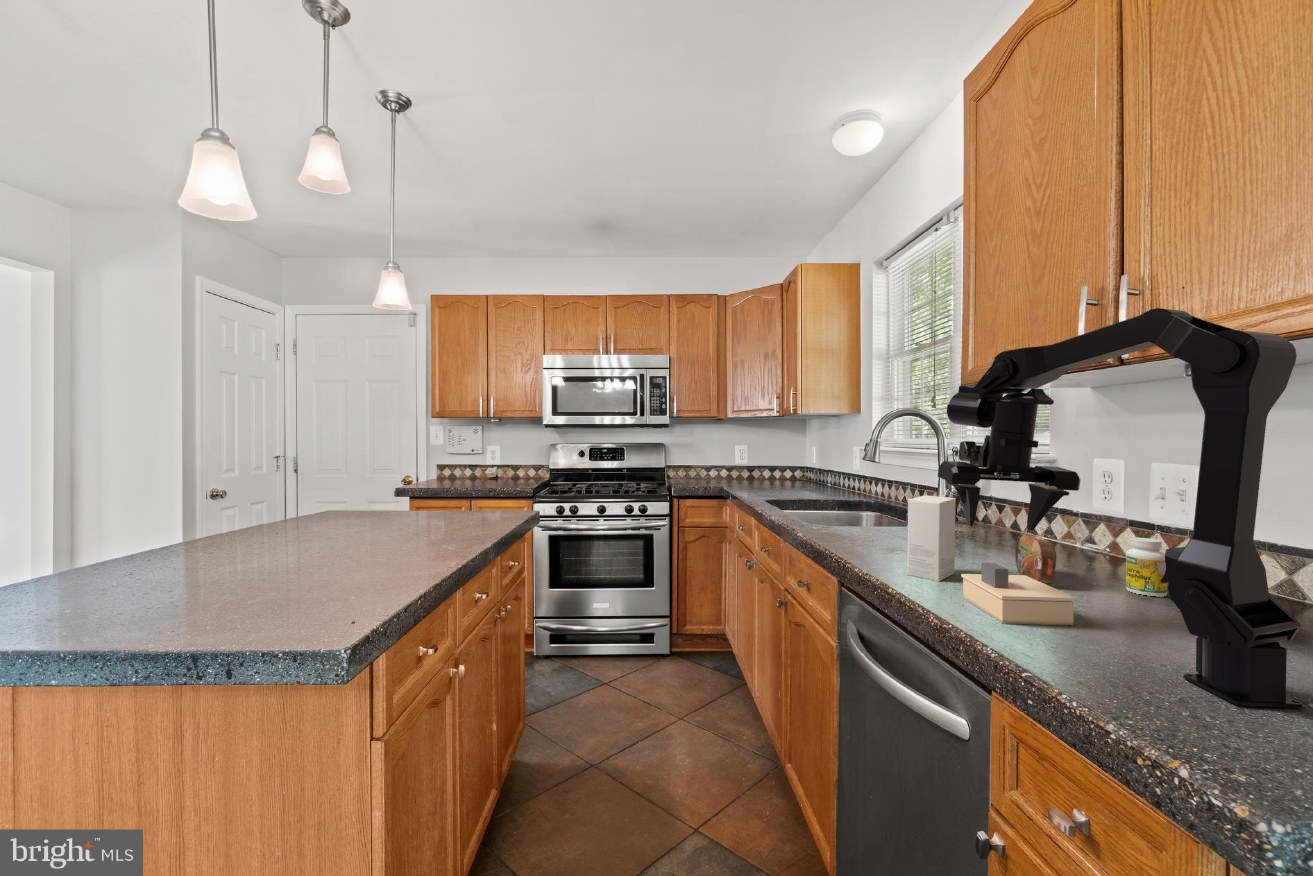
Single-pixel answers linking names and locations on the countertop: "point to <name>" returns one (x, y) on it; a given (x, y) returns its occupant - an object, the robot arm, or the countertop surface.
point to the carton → (1019, 608)
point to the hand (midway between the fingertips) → (999, 527)
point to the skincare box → (931, 537)
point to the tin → (1035, 558)
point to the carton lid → (1014, 585)
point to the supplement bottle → (1146, 568)
